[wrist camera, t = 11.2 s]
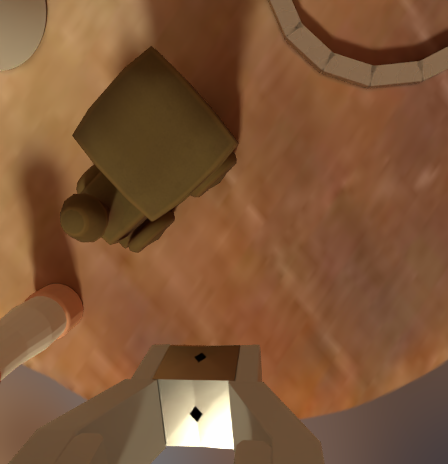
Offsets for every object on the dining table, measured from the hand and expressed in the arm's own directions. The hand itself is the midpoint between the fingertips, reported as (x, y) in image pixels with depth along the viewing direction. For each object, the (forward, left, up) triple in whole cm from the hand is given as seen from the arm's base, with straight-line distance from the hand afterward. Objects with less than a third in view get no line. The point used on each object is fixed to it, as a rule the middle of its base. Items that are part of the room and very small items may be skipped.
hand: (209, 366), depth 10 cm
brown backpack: (-11, -5, -35) cm, 37 cm away
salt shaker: (-11, -31, -35) cm, 48 cm away
